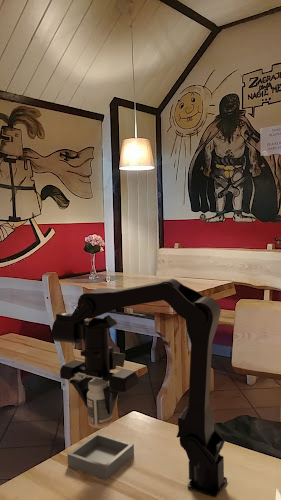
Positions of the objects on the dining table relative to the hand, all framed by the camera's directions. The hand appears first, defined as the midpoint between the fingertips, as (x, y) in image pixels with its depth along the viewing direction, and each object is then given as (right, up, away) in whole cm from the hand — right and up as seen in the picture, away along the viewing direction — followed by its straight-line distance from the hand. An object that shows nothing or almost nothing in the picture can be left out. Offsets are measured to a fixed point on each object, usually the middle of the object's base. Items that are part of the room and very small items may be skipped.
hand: (99, 410), depth 103 cm
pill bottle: (0, -3, 0) cm, 3 cm away
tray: (0, -12, +1) cm, 12 cm away
